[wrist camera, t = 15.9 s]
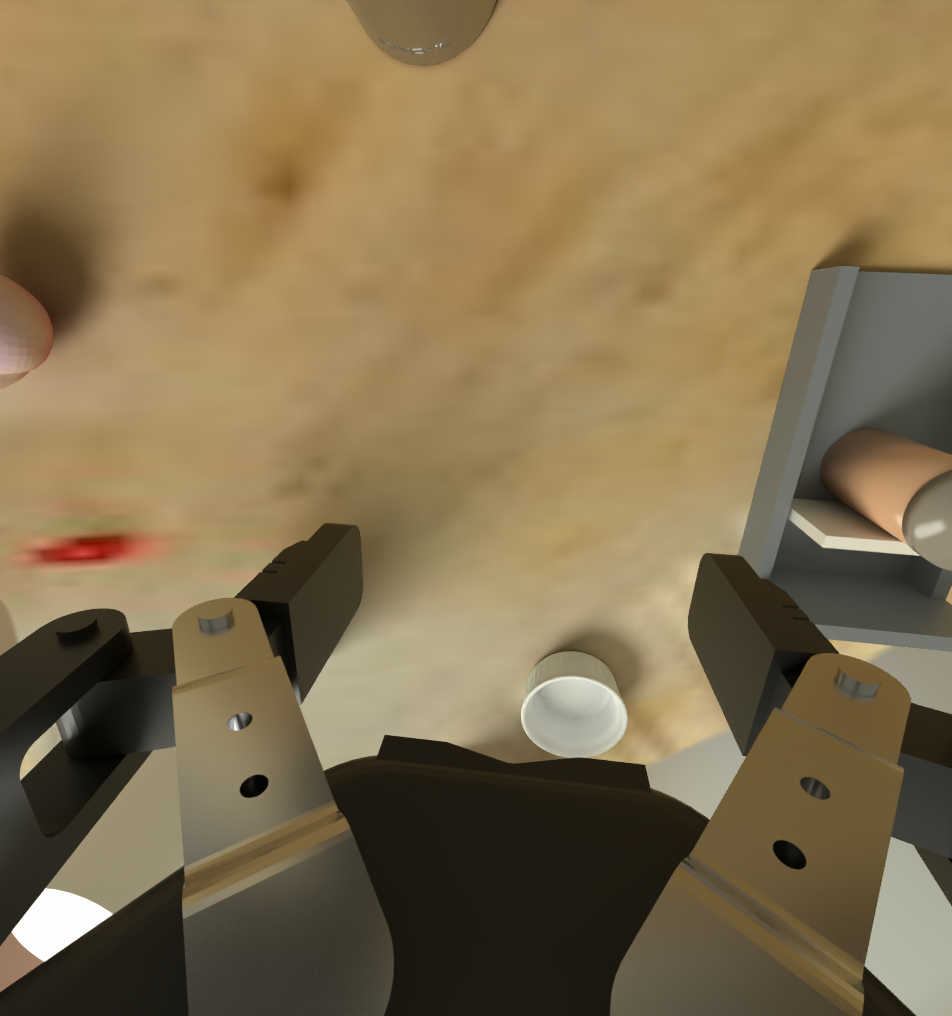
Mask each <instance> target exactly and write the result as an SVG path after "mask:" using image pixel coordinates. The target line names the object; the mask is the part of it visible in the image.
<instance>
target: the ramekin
mask: <svg viewBox="0 0 952 1016" xmlns="http://www.w3.org/2000/svg"><path fill="white" fill-rule="evenodd" d="M521 722H522V725H523V728H524V730H525V732H526V734H527V735H528V736H529V738H530V739H531V740H532V741H533V742H534V743H535V744H536V745H537V746H539V747H540V748H542V749H543V750H545V751H547V752H549V753H551V754H554V755H557V756H561V757H566V758H577V757H581V758H587V757H592V756H595V755H599V754H601V753H603V752H605V751H607V750H609V749H610V748H612V747H613V746H614V745H616V744H617V743H618V742H619V741H620V739H621V738H622V737H623V735H624V733H625V731H626V729H627V724H628V713H627V709H626V706H625V703H624V701H623V699H622V697H621V696H620V693H619V690H618V687H617V684H616V682H615V679H614V676H613V675H612V673H611V671H610V670H609V669H608V667H607V666H606V665H605V664H604V663H603V662H602V661H600V660H599V659H597V658H595V657H594V656H591V655H589V654H586V653H582V652H576V651H566V652H559V653H555V654H552V655H550V656H548V657H546V658H545V659H543V660H542V661H540V662H539V663H538V664H537V665H536V666H535V667H534V668H533V669H532V671H531V673H530V675H529V678H528V681H527V686H526V694H525V699H524V701H523V705H522V709H521Z"/></svg>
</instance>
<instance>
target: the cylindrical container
mask: <svg viewBox="0 0 952 1016" xmlns="http://www.w3.org/2000/svg"><path fill="white" fill-rule="evenodd" d="M182 866H184V857H183V843H182V828H181V814H180V799H179V785H178V770H177V756H176V747H171V748H164V749H158V750H153V751H152V753H151V754H150V755H149V757H148V758H147V759H146V761H145V762H144V763H143V764H142V766H141V767H140V768H139V769H138V771H137V772H136V773H135V775H134V776H133V777H132V778H131V780H130V781H129V782H128V784H127V785H126V786H125V787H124V789H123V790H122V791H121V792H120V794H119V795H118V796H117V798H116V799H115V800H114V801H113V803H112V804H111V805H110V807H109V808H108V809H107V810H106V812H105V813H104V814H103V815H102V817H101V818H100V819H99V821H98V822H97V823H96V824H95V826H94V827H93V828H92V829H91V831H90V832H89V833H88V835H87V836H86V837H85V838H84V840H83V841H82V842H81V844H80V845H79V846H78V847H77V849H76V850H75V851H74V852H73V854H72V855H71V856H70V858H69V859H68V860H67V861H66V863H65V864H64V865H63V867H62V868H61V869H60V870H59V872H58V873H57V874H56V875H55V877H54V878H53V879H52V881H51V882H50V883H49V884H48V886H47V887H46V888H45V890H44V891H43V892H42V893H41V895H40V896H39V897H38V898H37V900H36V901H35V902H34V904H33V905H32V906H31V907H30V909H29V910H28V911H27V913H26V914H25V915H24V916H23V918H22V919H21V920H20V921H19V923H18V924H17V925H16V927H15V928H14V929H13V930H12V933H13V935H14V936H15V937H16V938H17V939H18V941H19V942H20V943H21V944H22V945H23V946H24V947H25V948H26V949H28V950H29V951H30V952H31V953H33V954H34V955H35V956H36V957H38V958H39V959H41V960H43V961H44V962H45V961H46V960H48V959H49V958H50V957H52V956H53V955H55V954H56V953H58V952H59V951H61V950H62V949H64V948H65V947H66V946H68V945H69V944H71V943H72V942H74V941H75V940H77V939H78V938H79V937H81V936H82V935H84V934H85V933H87V932H88V931H90V930H91V929H92V928H94V927H95V926H97V925H98V924H100V923H101V922H103V921H104V920H105V919H107V918H108V917H110V916H111V915H113V914H114V913H116V912H117V911H118V910H120V909H121V908H123V907H124V906H126V905H127V904H129V903H130V902H131V901H133V900H134V899H136V898H137V897H139V896H140V895H142V894H143V893H144V892H146V891H147V890H149V889H150V888H152V887H153V886H155V885H156V884H158V883H159V882H160V881H162V880H163V879H165V878H166V877H168V876H169V875H171V874H172V873H173V872H175V871H176V870H178V869H179V868H181V867H182Z"/></svg>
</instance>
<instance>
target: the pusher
mask: <svg viewBox="0 0 952 1016" xmlns="http://www.w3.org/2000/svg"><path fill="white" fill-rule="evenodd" d="M787 518H788V519H789V520H790V521H792V522H793V523H794V524H795V525H796V526H798V527H799V528H800V529H801V530H802V531H804V532H805V533H806V534H807V535H808V536H809V537H811V538H812V539H813V540H814V541H815V542H817V543H818V544H819V545H820V546H821V547H823V548H835V549H847V550H858V551H870V552H882V553H893V554H905V555H917V556H920V555H919V554H917V553H916V552H915V551H913V550H912V549H911V548H910V547H909V546H908V545H907V544H905V543H904V542H902V541H901V540H899V539H898V538H896V537H895V536H893V535H892V534H890V533H889V532H887V531H886V530H884V529H883V528H881V527H880V526H878V525H877V524H875V523H874V522H872V521H871V520H869V519H867V518H866V517H864V516H863V515H861V514H860V513H858V512H857V511H855V510H854V509H852V508H851V507H849V506H848V505H846V504H845V503H843V502H836V501H823V500H810V499H797V498H793V500H792V503H791V506H790V510H789V513H788V517H787Z"/></svg>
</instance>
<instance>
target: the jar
mask: <svg viewBox="0 0 952 1016" xmlns="http://www.w3.org/2000/svg"><path fill="white" fill-rule="evenodd" d="M820 479H821V482H822V485H823V486H824V488H825V489H826V490H827V491H828V492H829V493H830V494H831V495H833V496H834V497H836V498H837V499H839V500H840V501H842V502H843V503H845V504H846V505H848V506H849V507H851V508H852V509H854V510H855V511H857V512H858V513H860V514H861V515H863V516H864V517H866V518H867V519H869V520H871V521H872V522H874V523H875V524H877V525H878V526H880V527H881V528H883V529H884V530H886V531H887V532H889V533H890V534H892V535H893V536H895V537H896V538H898V539H899V540H901V541H902V542H904V543H905V544H907V545H908V546H909V547H910V548H911V549H912V550H913V551H915V552H916V553H917V554H919V555H920V556H922V557H923V558H925V559H926V560H928V561H929V562H931V563H932V564H934V565H936V566H938V567H940V568H943V569H946V570H950V571H952V455H951V454H948V453H945V452H943V451H940V450H937V449H934V448H932V447H929V446H926V445H923V444H921V443H918V442H915V441H913V440H910V439H907V438H904V437H902V436H899V435H896V434H893V433H891V432H888V431H885V430H882V429H877V428H864V429H859V430H855V431H852V432H850V433H848V434H846V435H844V436H842V437H841V438H839V439H838V440H837V441H835V442H834V443H833V444H832V445H831V446H830V447H829V449H828V450H827V451H826V453H825V455H824V457H823V459H822V461H821V465H820Z"/></svg>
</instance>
